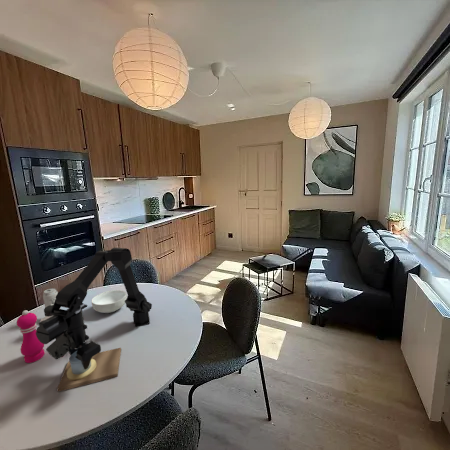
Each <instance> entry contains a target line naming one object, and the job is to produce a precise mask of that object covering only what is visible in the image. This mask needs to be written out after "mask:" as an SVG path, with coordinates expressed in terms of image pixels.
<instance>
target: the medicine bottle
mask: <svg viewBox="0 0 450 450" xmlns="http://www.w3.org/2000/svg"><path fill="white" fill-rule="evenodd" d="M53 305H54V304H52V305H49V306H47V307H46V308H45V307H44V308H43V313H44V317H43V318H41V319H40V322H41V321H43V320H46V319H48V318H50V317H52V316H53V315H50V311H51V309H52V307H53Z"/></svg>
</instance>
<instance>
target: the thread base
mask: <svg viewBox="0 0 450 450" xmlns="http://www.w3.org/2000/svg"><path fill="white" fill-rule="evenodd" d="M121 353H122V348H121V347H118V348H113V349H108V350H105V351H101V352H99V353H97V354H96V355H94V356H93V357H92V359H91V367H90V368H89V369H88V370H87V371H86V372H84V373H81V374H73V373H72V369H71V364H70V362H69V360H68V362H67V364H66V367H65V368H64V371H63V374H62V376H61V378H60V381H59V384H58V385H57V387H56V391H57V392H62V391H67V390H70V389H75V388H78V387H81V386H85V385H89V384H94V383H97V382H101V381H105V380H108V379H113V378H117V377H118V376H119V370H120V369H119V368H120V363H121V362H120V361H121V355H122V354H121Z"/></svg>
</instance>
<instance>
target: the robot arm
mask: <svg viewBox="0 0 450 450" xmlns="http://www.w3.org/2000/svg"><path fill="white" fill-rule="evenodd" d="M132 260H133V257H132V253H131V250H130V249H129V248H127V247H112V248H111V249H107V250H98V251H97V252H95V254H94V256H93V258H92V259H91V260H90V261H89V263H87V264H86V266H85V267H84V269H83V270H82V271H81V272H80V273H79V275H78V276H77V277H76V278H75V279H74V280H73V281H72V282H70V283H67V285H65V286H64V287H63V288H61V290H59V292H58V291H57V292H58V294H57V295H56V300H55V302H54V305H53V307H52V309H51V311H50V315H53V316H52V317H50V318H48V319H46V320H43V321H40V322H38V326H37V328H36V336H37V338H38V340H39V341H40V342H41V343H43V344H44V345H48V344H49V343H50V344H49V345H48V346H47V347H46V348H45V350H46V352H47V353H48V354H49V355H50V356H51V357H52V358H53V359H55V360H60V358H63V357H64V356H65V355H66V354H67V353H69V356H71V355H72V354H73V353H74V352H76V351H77V353H76V354H77V356H76V357H75V358H77V359H78V360H81V362H82V365H83V367H84V369H87V368H88V367H89V364H90V361H91V359H92V357H93V356H94V355H96V354H97V353H99V352H102V347H101V344H99V343H97V342H96V341H92V340H91V341H89V342H87V340H90V336H89V335H88V334H87V332H86V329H88V325H87V324H85V322H84V315H83V310H84V309H86V308H87V307H88V305H87V304H86V303H83V302H84V301H85V299H86V297H87V295H88V290H89V289H88V288H89V287H90V286H91V284H92V283H93V282H94V280H95V279H96V278H97V276H98V275H100V274H99V273H101V271H102V270H103V268H104V267H105V266H106V265H107V263H109V262H111V264H112V265H113V266H114V267H115V268H116V269H117V270H118V273H119V274H120V277H121V280H122V284H123V286H124V289H125V290H126V291H125V292H126V294H127V299H126V300H125V306H126V308H128V309H129V310H130V311H131V312H133V313H132V319H133V324H134V327H140V326H144V325H150V324H151V322H150V321H151V320H150V311H151V309H152V307H153V304H152V303H151V302H150V301H148V299H147V298H146V296H145V294H144V293H142V292H141V291H140V289H139V287H138V284H137V281H136V278H135V275H134V272H133V268H132V267H131V263H132ZM60 308H61V309H60ZM64 308H66V309H64ZM51 342H52V343H51Z"/></svg>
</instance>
